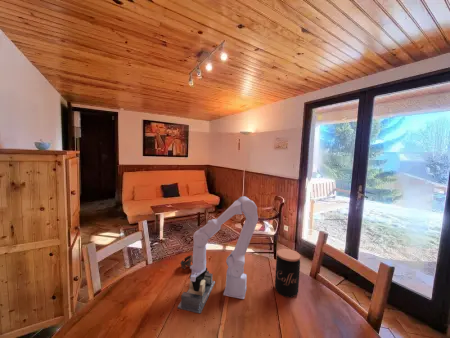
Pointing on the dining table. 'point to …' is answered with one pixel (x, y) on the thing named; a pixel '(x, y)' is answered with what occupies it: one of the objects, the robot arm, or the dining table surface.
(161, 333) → the dining table surface
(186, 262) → the pottery mug
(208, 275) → the jaw
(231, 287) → the robot arm
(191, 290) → the block
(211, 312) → the dining table surface
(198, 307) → the vise
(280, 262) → the coffee jar
